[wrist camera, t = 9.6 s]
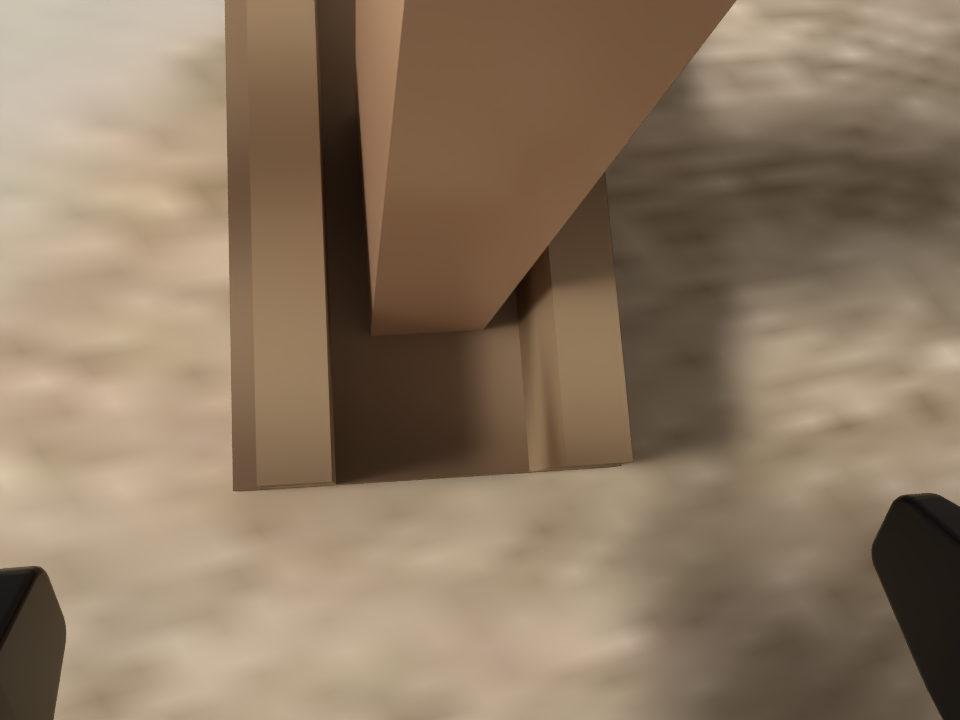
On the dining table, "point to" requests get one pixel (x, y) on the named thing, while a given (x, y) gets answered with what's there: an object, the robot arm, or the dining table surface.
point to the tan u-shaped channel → (344, 301)
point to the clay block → (495, 136)
